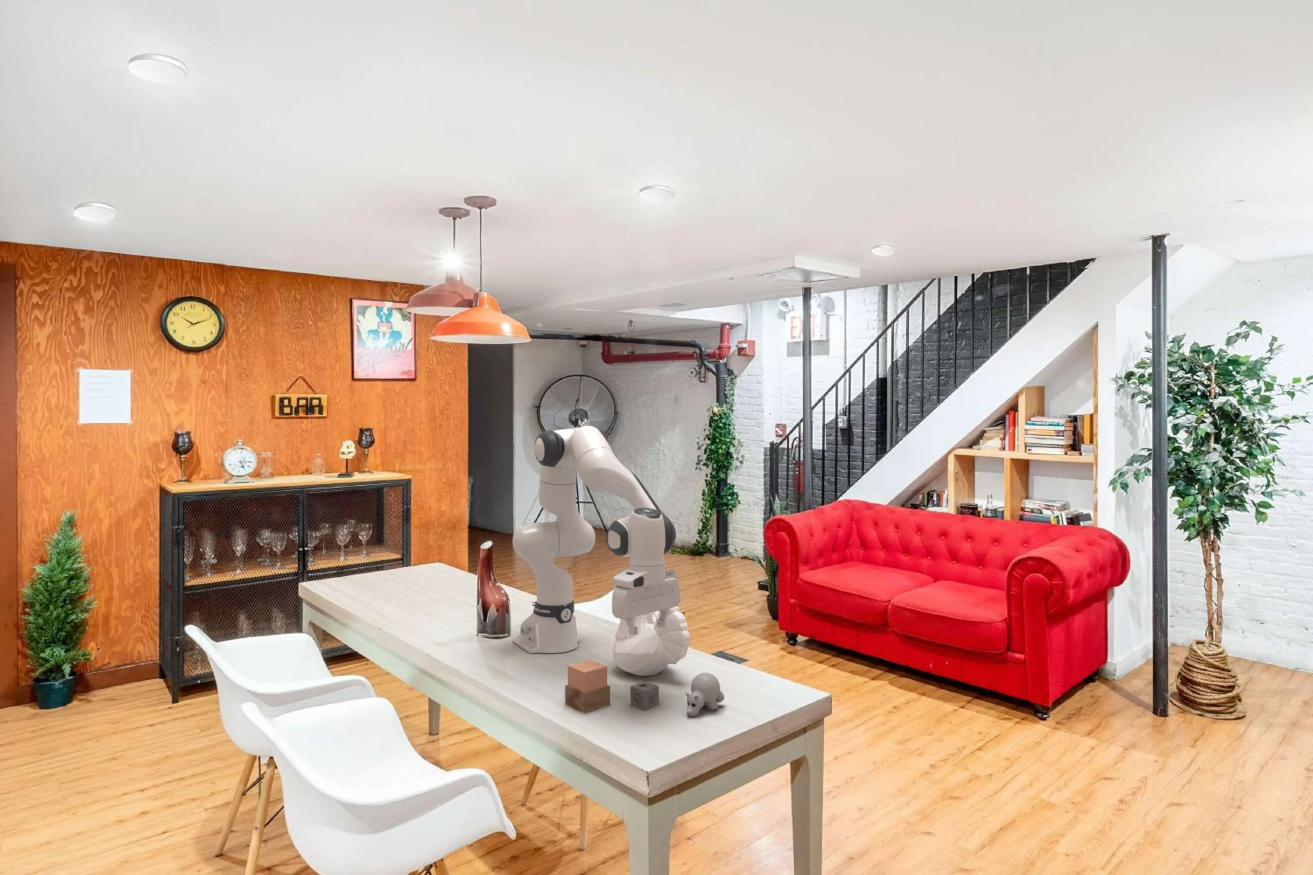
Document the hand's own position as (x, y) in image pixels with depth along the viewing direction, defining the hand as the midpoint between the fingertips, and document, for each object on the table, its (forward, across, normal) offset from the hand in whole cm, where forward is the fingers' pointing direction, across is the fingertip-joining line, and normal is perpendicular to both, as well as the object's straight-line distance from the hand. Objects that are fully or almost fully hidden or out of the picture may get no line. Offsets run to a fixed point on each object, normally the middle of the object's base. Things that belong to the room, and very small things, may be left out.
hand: (647, 630), depth 188 cm
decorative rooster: (+19, -16, -16) cm, 30 cm away
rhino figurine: (+19, -8, +11) cm, 24 cm away
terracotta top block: (+14, +10, -11) cm, 21 cm away
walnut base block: (+19, +10, -11) cm, 24 cm away
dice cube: (+19, 0, -1) cm, 19 cm away
